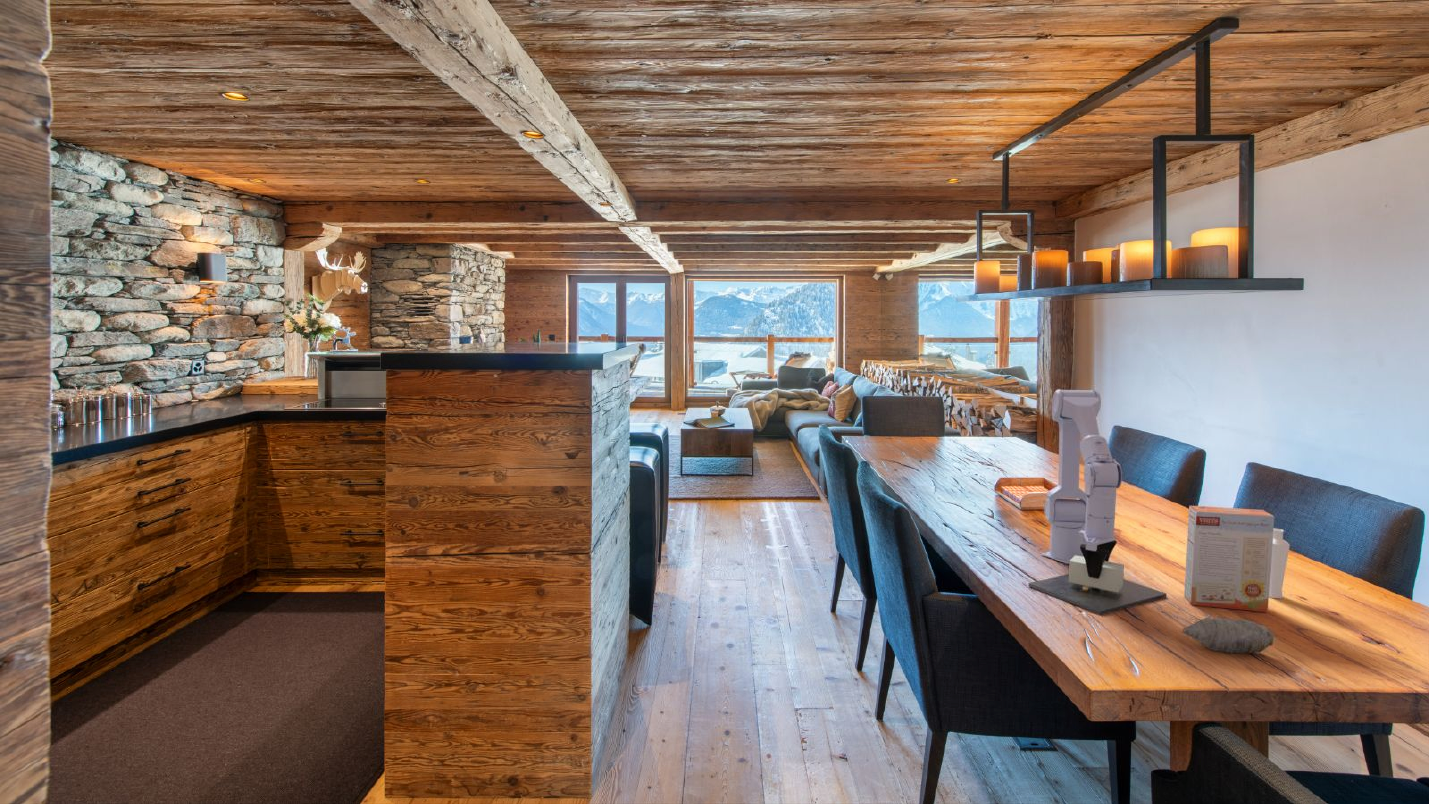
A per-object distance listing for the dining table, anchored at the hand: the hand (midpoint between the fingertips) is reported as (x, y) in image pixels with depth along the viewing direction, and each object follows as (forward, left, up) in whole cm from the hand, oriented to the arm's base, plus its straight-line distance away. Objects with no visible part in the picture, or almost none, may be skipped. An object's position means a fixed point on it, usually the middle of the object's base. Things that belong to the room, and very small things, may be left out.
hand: (1096, 574), depth 160 cm
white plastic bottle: (-33, +19, -4) cm, 38 cm away
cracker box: (-18, +17, -4) cm, 25 cm away
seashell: (+5, +30, -4) cm, 31 cm away
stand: (0, 0, -4) cm, 4 cm away
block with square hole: (0, 0, -2) cm, 2 cm away
